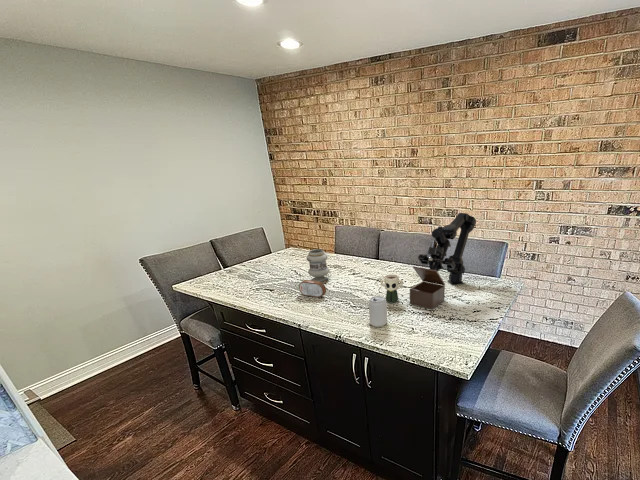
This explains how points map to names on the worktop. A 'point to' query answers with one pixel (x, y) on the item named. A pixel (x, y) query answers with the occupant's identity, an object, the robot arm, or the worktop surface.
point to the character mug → (391, 286)
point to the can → (378, 311)
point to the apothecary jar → (318, 265)
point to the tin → (312, 288)
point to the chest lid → (429, 275)
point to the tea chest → (427, 294)
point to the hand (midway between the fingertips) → (430, 276)
